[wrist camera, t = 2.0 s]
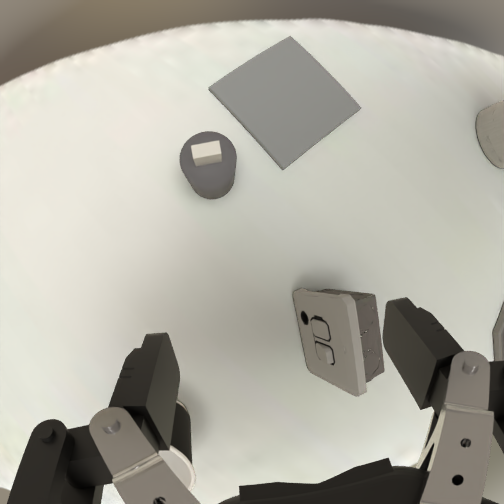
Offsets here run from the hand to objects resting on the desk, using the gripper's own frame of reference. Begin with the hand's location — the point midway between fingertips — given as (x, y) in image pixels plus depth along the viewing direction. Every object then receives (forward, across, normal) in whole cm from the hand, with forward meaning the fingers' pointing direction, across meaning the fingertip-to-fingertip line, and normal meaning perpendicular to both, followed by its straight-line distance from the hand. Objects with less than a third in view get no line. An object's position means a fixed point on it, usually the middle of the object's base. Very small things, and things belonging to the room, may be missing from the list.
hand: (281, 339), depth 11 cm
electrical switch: (+19, -6, +13) cm, 24 cm away
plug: (+24, +3, -2) cm, 24 cm away
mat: (+27, -6, -10) cm, 29 cm away
